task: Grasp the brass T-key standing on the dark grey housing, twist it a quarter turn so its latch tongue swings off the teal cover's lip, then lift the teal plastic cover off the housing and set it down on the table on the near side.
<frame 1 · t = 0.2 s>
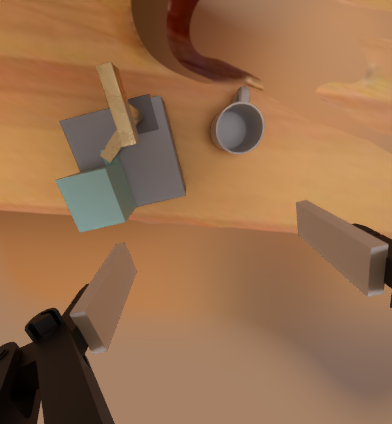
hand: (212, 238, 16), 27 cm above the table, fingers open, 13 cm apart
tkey: (110, 124, 27), point 11 cm above the table, hinge at 0.0°
cup: (230, 122, 39), on the table
cover: (109, 190, 36), point 6 cm above the table, touching housing
housing: (135, 157, 40), on the table
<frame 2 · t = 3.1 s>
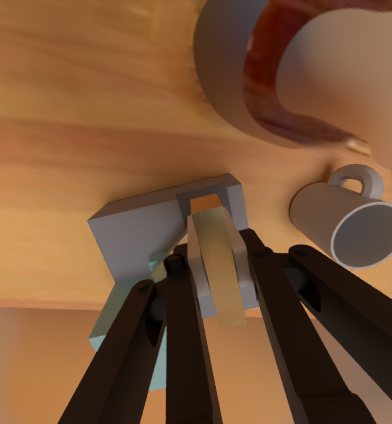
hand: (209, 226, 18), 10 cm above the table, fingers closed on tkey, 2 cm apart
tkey: (178, 252, 17), point 11 cm above the table, hinge at 0.0°, touching gripper
cup: (317, 197, 28), on the table
cover: (155, 302, 25), point 6 cm above the table, touching housing
housing: (183, 242, 29), on the table
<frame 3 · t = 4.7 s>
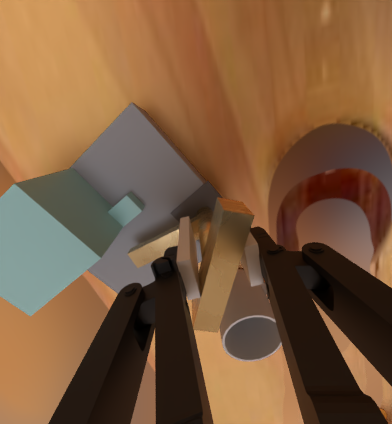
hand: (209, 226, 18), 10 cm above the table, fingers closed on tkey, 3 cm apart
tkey: (172, 241, 16), point 11 cm above the table, hinge at 37.3°, touching gripper
cup: (244, 283, 32), on the table
cover: (74, 220, 21), point 6 cm above the table, touching housing
housing: (146, 206, 27), on the table
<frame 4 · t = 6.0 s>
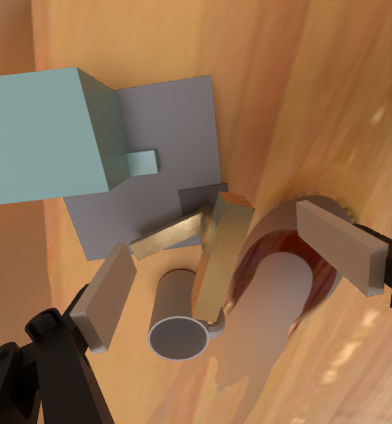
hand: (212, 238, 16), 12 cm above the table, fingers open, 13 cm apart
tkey: (173, 233, 17), point 11 cm above the table, hinge at 68.7°
cup: (189, 288, 33), on the table
cover: (83, 140, 19), point 6 cm above the table, touching housing
housing: (150, 171, 26), on the table
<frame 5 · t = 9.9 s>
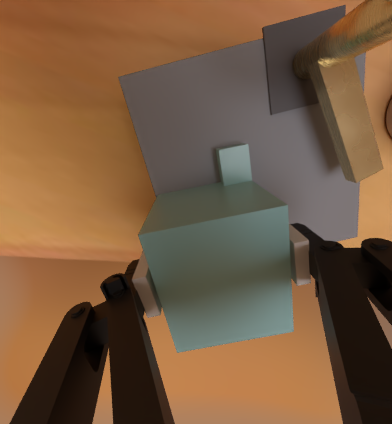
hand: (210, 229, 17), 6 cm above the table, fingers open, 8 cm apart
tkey: (362, 104, 10), point 11 cm above the table, hinge at 69.2°
cover: (210, 231, 17), point 6 cm above the table, touching housing
housing: (237, 160, 21), on the table
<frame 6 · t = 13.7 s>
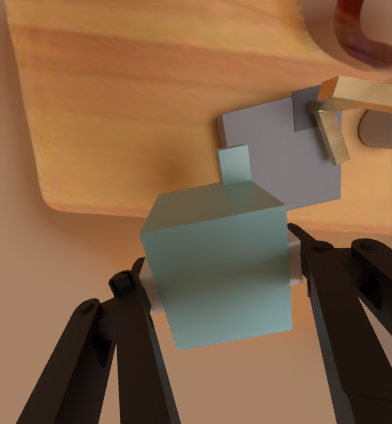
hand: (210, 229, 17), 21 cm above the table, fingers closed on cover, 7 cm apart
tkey: (336, 131, 24), point 11 cm above the table, hinge at 69.2°
cup: (381, 116, 34), on the table
cover: (210, 231, 18), point 20 cm above the table, touching gripper
housing: (270, 155, 36), on the table
when the fingers open (3 cm above the table, at t = 16.5 s): cover drops 2 cm, on the table.
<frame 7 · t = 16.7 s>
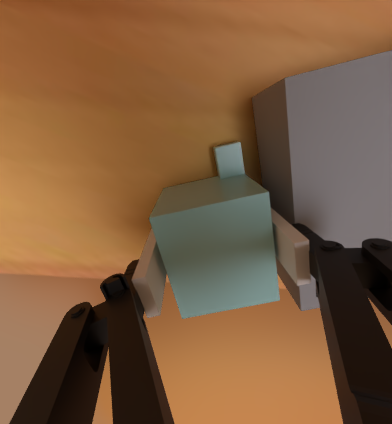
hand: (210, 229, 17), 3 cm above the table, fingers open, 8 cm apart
cover: (210, 220, 20), on the table
housing: (352, 173, 19), on the table
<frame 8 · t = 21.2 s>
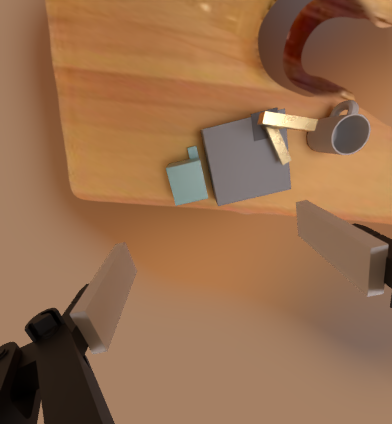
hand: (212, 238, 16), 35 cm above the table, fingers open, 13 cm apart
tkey: (276, 142, 36), point 11 cm above the table, hinge at 69.2°
cup: (323, 128, 47), on the table
cover: (187, 177, 49), on the table
housing: (241, 157, 48), on the table
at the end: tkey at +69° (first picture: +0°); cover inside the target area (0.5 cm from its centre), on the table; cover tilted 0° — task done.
